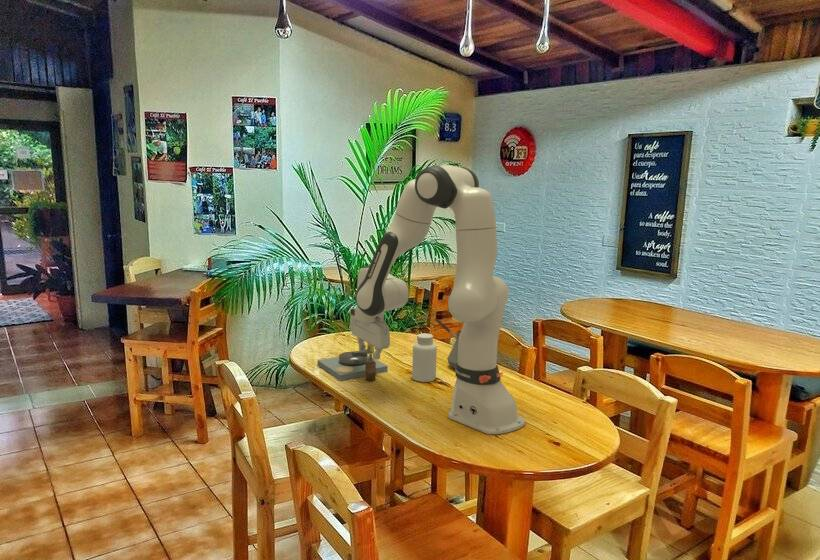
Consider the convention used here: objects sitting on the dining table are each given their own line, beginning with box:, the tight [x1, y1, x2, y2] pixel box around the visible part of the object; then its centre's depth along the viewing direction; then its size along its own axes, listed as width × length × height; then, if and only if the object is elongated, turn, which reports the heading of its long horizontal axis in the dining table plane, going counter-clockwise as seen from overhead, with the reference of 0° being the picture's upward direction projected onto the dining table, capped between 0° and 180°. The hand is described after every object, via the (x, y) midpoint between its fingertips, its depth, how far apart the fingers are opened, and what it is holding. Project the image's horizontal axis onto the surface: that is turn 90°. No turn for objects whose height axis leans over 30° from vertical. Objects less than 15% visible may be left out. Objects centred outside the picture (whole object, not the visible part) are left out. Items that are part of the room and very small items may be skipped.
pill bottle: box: [411, 332, 438, 383], centre depth 189 cm, size 8×8×15 cm
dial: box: [338, 342, 375, 366], centre depth 200 cm, size 10×13×8 cm
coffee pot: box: [432, 318, 462, 370], centre depth 204 cm, size 21×12×15 cm, turn 40°
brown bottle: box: [364, 354, 377, 383], centre depth 187 cm, size 3×3×9 cm
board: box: [317, 355, 389, 382], centre depth 198 cm, size 18×18×2 cm
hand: (369, 354), depth 187 cm, fingers open, 8 cm apart
